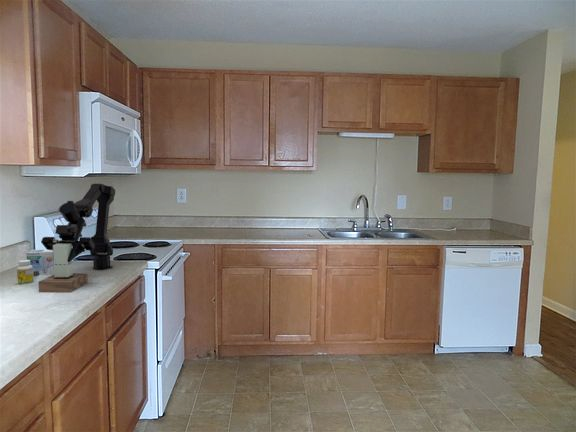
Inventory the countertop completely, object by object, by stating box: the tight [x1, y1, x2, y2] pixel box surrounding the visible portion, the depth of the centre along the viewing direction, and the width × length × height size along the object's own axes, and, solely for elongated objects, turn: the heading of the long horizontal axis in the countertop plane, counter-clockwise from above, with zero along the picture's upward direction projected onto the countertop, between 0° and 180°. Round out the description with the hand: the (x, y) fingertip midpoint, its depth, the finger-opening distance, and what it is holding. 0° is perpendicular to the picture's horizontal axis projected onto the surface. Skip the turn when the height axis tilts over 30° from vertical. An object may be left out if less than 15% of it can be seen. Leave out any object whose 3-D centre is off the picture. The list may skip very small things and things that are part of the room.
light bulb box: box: [26, 248, 54, 277], centre depth 180 cm, size 11×7×11 cm, turn 105°
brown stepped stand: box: [38, 272, 89, 293], centre depth 159 cm, size 20×16×5 cm
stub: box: [53, 243, 74, 277], centre depth 158 cm, size 4×5×12 cm
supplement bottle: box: [16, 259, 34, 285], centre depth 165 cm, size 5×5×10 cm
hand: (61, 261), depth 157 cm, fingers closed on stub, 5 cm apart
